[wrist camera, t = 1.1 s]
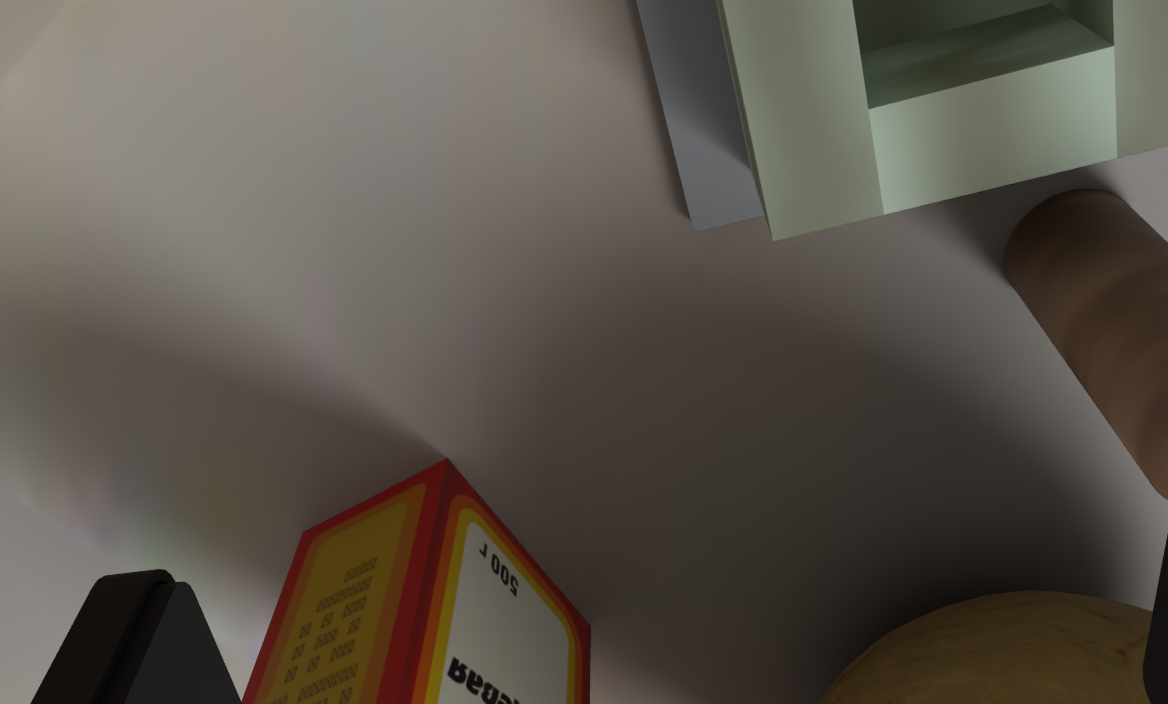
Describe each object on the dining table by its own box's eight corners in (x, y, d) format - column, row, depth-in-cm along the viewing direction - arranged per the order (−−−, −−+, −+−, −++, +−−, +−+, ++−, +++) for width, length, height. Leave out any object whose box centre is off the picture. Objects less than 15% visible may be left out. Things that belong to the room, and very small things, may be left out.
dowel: (1138, 174, 32) (1337, 349, 23) (1140, 290, 34) (1324, 491, 25) (999, 207, 32) (1143, 390, 24) (1009, 319, 34) (1145, 525, 26)
